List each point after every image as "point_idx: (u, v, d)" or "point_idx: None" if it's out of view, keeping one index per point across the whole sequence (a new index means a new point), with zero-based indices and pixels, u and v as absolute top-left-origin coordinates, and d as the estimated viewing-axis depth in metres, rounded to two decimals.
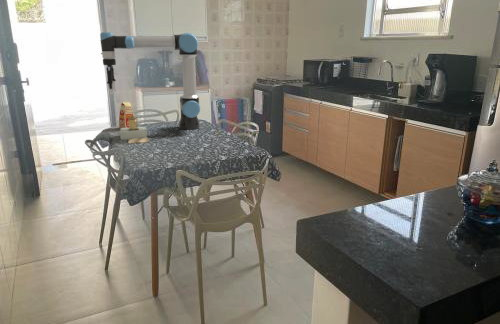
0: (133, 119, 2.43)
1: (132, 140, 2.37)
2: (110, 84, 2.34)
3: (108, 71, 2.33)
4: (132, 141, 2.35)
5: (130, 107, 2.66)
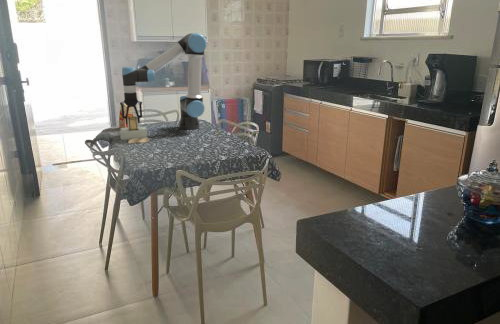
0: (133, 119, 2.43)
1: (132, 140, 2.37)
2: None
3: None
4: (132, 141, 2.35)
5: (130, 107, 2.66)
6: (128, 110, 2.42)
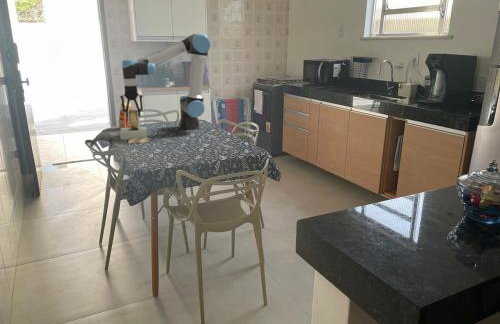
0: (133, 112, 2.42)
1: (132, 140, 2.37)
2: None
3: None
4: (132, 141, 2.35)
5: (130, 107, 2.66)
6: (128, 103, 2.40)
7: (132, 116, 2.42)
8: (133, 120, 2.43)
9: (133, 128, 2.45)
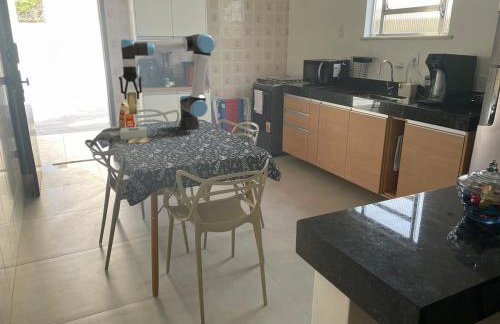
0: (132, 94, 2.34)
1: (132, 140, 2.37)
2: (124, 94, 2.35)
3: (120, 81, 2.32)
4: (132, 141, 2.35)
5: None
6: (127, 85, 2.32)
7: (130, 98, 2.34)
8: (131, 102, 2.35)
9: (131, 111, 2.36)
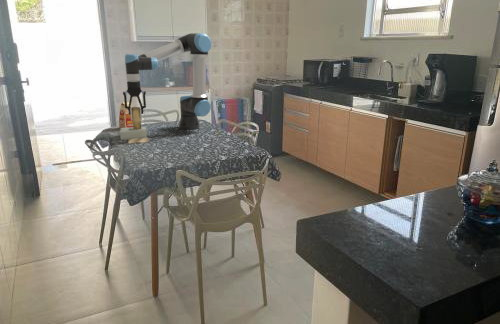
0: (136, 109, 2.30)
1: (132, 140, 2.37)
2: (128, 109, 2.31)
3: (124, 96, 2.29)
4: (132, 141, 2.35)
5: (130, 107, 2.66)
6: (131, 100, 2.29)
7: (135, 113, 2.31)
8: (136, 118, 2.31)
9: (136, 126, 2.33)
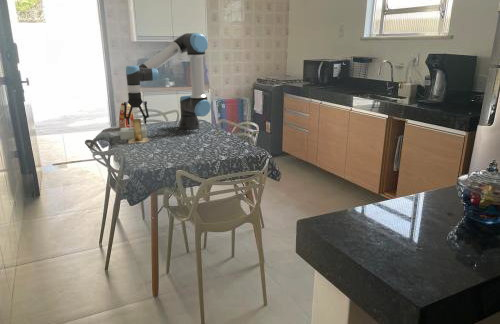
0: (137, 122, 2.32)
1: (132, 140, 2.37)
2: (127, 119, 2.33)
3: None
4: (132, 141, 2.35)
5: (130, 107, 2.66)
6: (131, 111, 2.31)
7: (136, 125, 2.33)
8: (137, 129, 2.34)
9: (137, 138, 2.35)
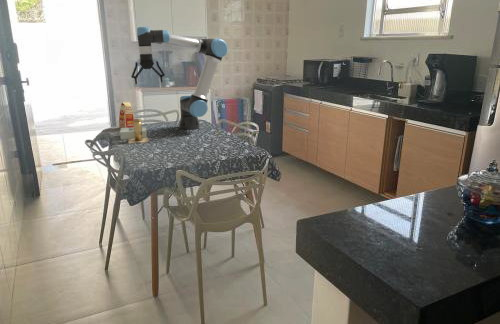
0: (138, 121, 2.33)
1: (132, 140, 2.37)
2: None
3: (135, 66, 2.34)
4: (132, 141, 2.35)
5: (130, 107, 2.66)
6: None
7: (136, 125, 2.33)
8: (137, 129, 2.34)
9: (137, 138, 2.35)
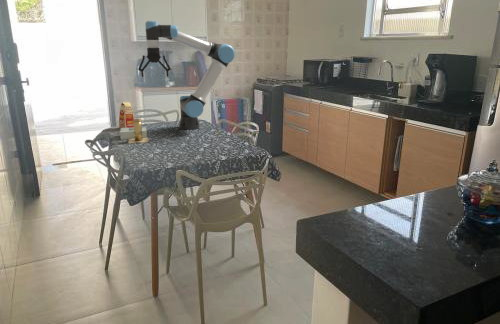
0: (138, 121, 2.33)
1: (132, 140, 2.37)
2: (141, 72, 2.42)
3: (142, 59, 2.40)
4: (132, 141, 2.35)
5: (130, 107, 2.66)
6: (147, 64, 2.40)
7: (136, 125, 2.33)
8: (137, 129, 2.34)
9: (137, 138, 2.35)
